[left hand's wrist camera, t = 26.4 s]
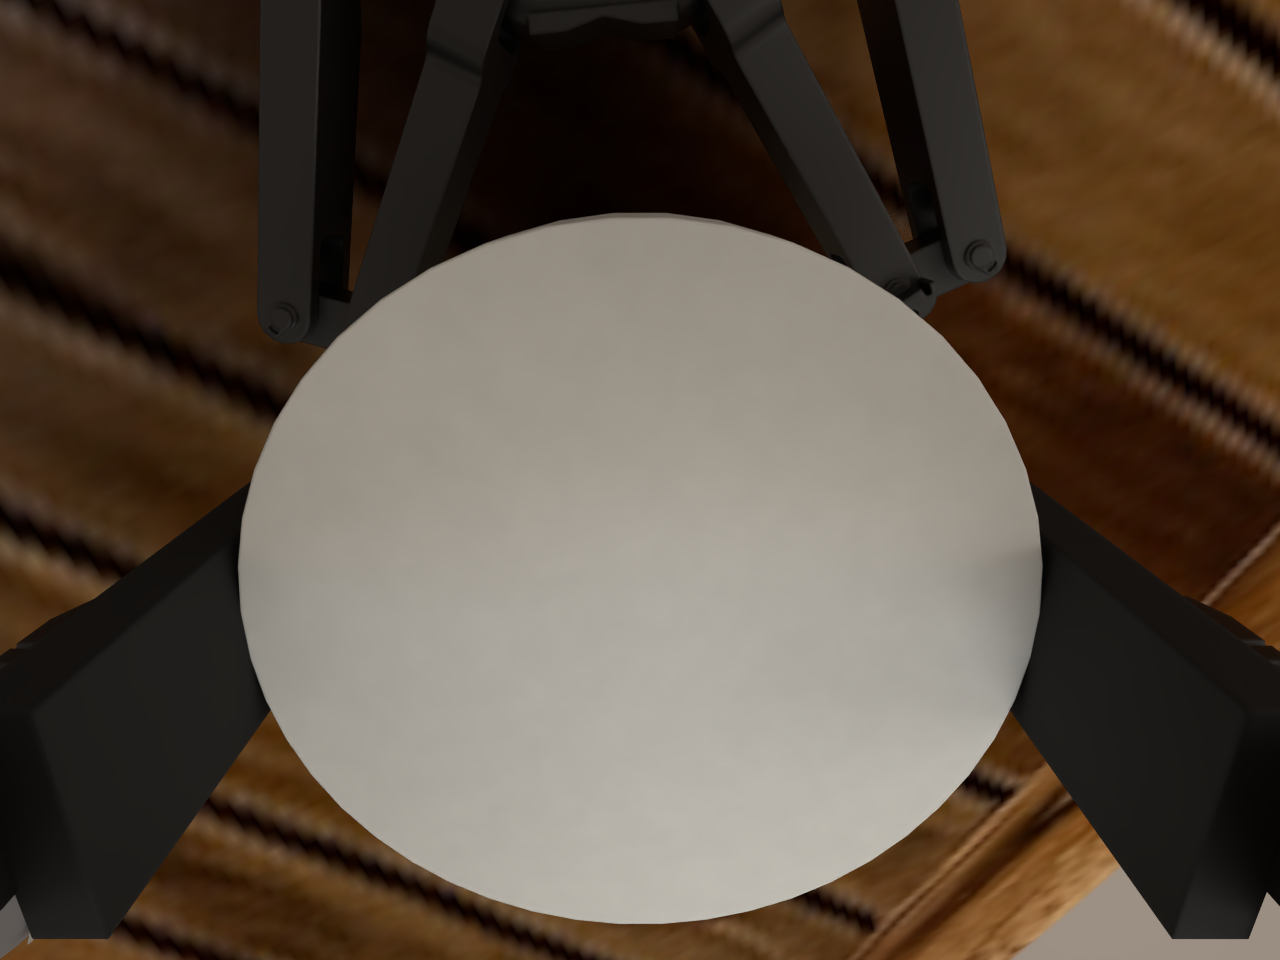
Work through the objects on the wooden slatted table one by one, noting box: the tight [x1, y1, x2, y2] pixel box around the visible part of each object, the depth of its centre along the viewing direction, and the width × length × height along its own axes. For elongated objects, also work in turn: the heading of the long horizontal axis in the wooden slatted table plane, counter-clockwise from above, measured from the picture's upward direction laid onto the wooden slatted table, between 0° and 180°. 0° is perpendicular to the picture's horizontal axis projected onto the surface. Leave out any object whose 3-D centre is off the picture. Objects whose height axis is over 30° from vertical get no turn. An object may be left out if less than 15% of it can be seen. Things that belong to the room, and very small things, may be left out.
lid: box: [238, 213, 1043, 924], centre depth 11 cm, size 10×10×2 cm
